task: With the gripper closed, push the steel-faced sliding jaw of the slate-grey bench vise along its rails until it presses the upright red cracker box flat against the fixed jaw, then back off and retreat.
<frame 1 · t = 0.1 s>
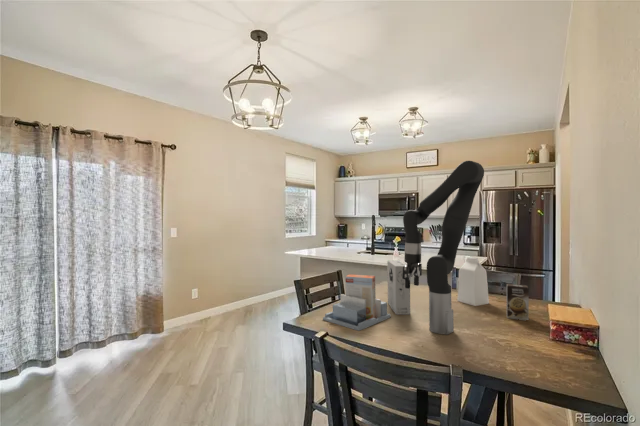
hand: (412, 286, 149), 17 cm above the table, tool pointing down, fingers open, 8 cm apart
sliding jaw: (349, 309, 153), point 6 cm above the table, slide at 0.3 cm
milk: (472, 302, 185), on the table
coffee box: (517, 318, 157), on the table
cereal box: (398, 308, 174), on the table
vise body: (357, 318, 157), on the table
cracker box: (361, 317, 159), resting in vise body
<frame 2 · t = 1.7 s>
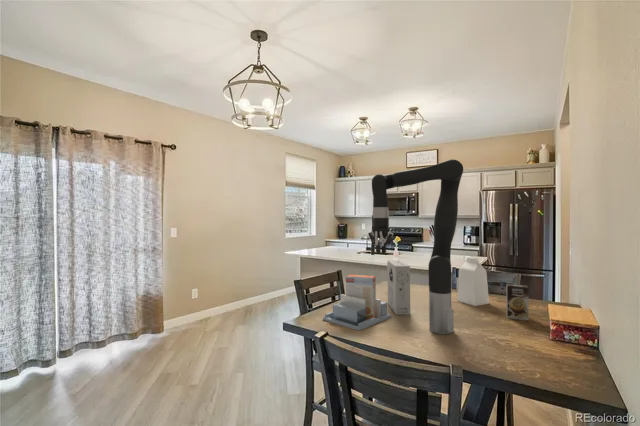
hand: (381, 253, 150), 33 cm above the table, tool pointing down, fingers closed
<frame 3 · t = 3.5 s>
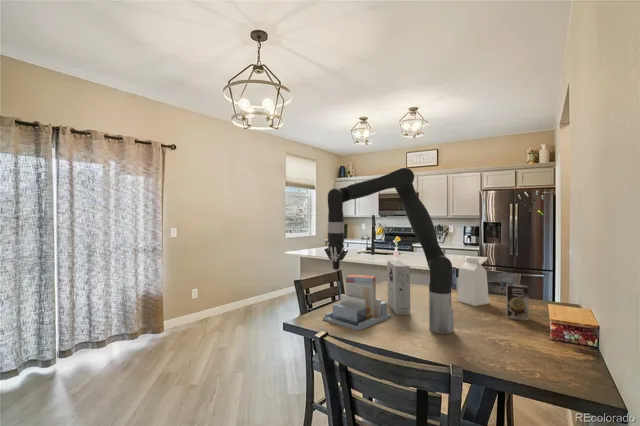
hand: (336, 269, 146), 26 cm above the table, tool pointing down, fingers closed
nothing on the table moved.
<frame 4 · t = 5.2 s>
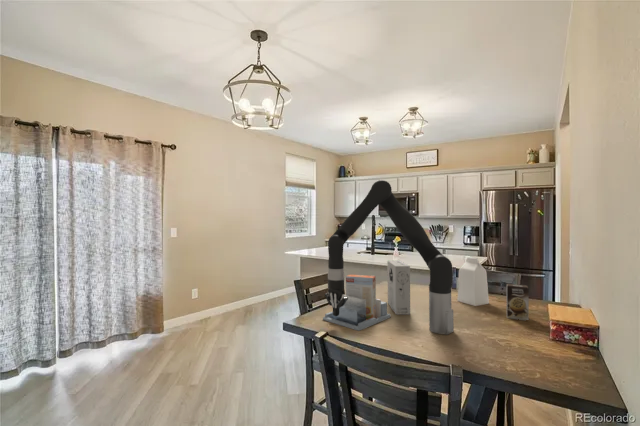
hand: (335, 315, 146), 5 cm above the table, tool pointing down, fingers closed
nothing on the table moved.
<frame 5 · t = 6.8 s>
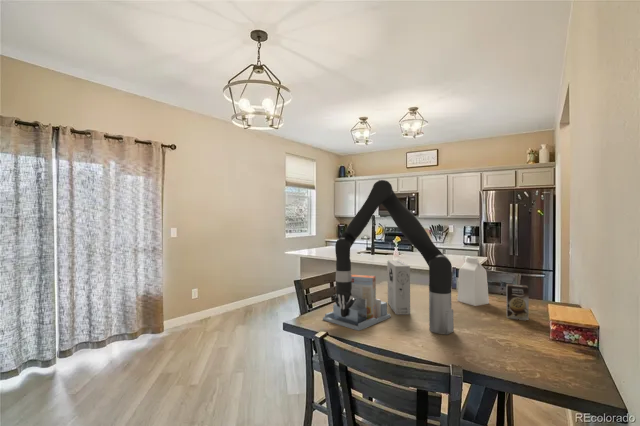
hand: (343, 316, 150), 3 cm above the table, tool pointing down, fingers closed
sliding jaw: (349, 309, 153), point 6 cm above the table, slide at 0.8 cm, touching gripper
everything else where it was.
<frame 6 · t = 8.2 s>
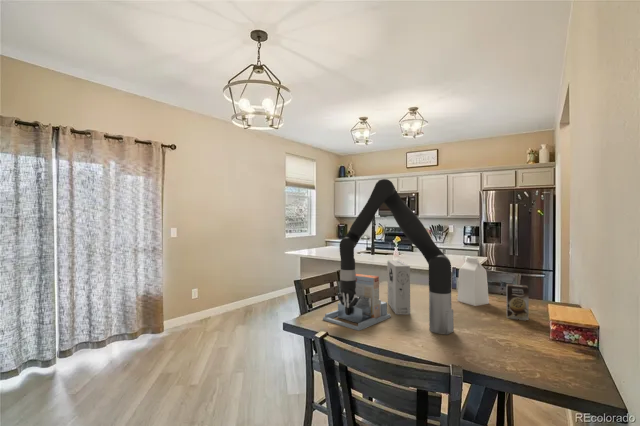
hand: (348, 314, 152), 3 cm above the table, tool pointing down, fingers closed
sliding jaw: (354, 307, 156), point 6 cm above the table, slide at 4.2 cm
cracker box: (364, 317, 160), resting in vise body
everything else where it was.
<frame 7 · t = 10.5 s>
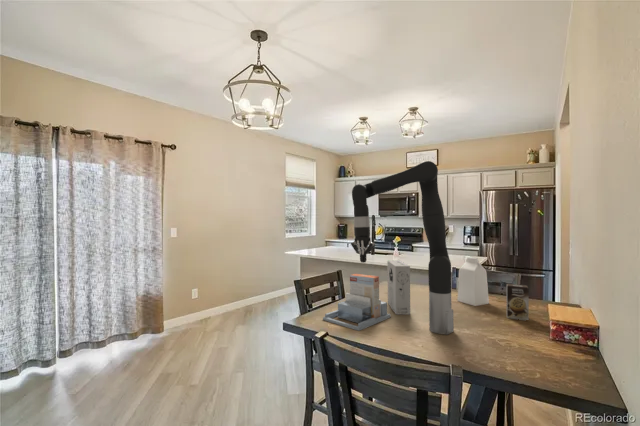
hand: (363, 262, 152), 29 cm above the table, tool pointing down, fingers closed
nothing on the table moved.
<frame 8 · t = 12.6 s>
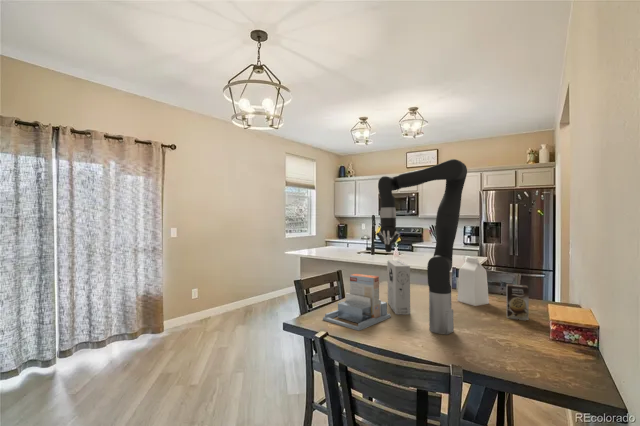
hand: (388, 252, 156), 33 cm above the table, tool pointing down, fingers closed
nothing on the table moved.
at the end: sliding jaw slide at 4.2 cm; cracker box 1.2 cm from the target spot, resting in vise body; cracker box tilted 0° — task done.
